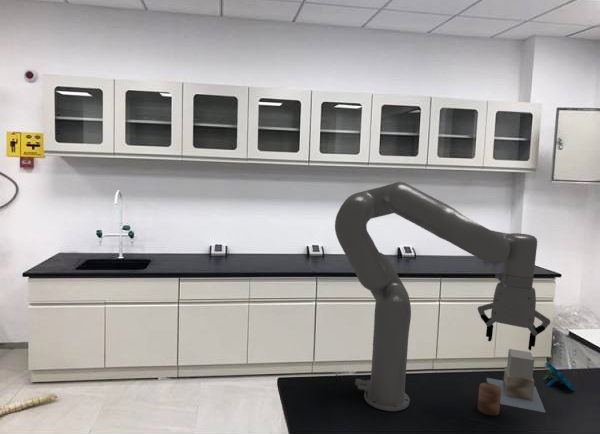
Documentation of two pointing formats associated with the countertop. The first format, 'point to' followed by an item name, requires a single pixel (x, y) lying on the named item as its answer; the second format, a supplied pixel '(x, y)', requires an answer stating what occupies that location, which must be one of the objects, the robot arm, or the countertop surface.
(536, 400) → the mat
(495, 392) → the cylinder
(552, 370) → the blue angular piece
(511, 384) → the lower block
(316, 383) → the countertop surface
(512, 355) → the upper block
